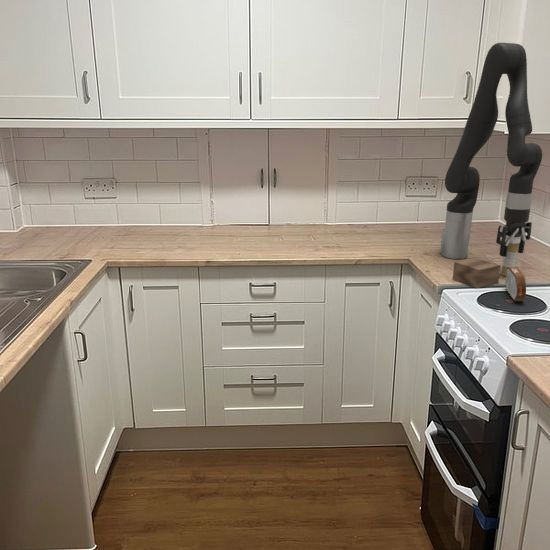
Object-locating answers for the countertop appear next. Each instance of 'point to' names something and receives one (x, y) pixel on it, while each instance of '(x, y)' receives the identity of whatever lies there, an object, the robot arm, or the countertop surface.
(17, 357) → the countertop surface
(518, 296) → the tin
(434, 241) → the countertop surface
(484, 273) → the walnut box
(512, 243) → the sprinkles bottle
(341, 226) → the countertop surface
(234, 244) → the countertop surface
